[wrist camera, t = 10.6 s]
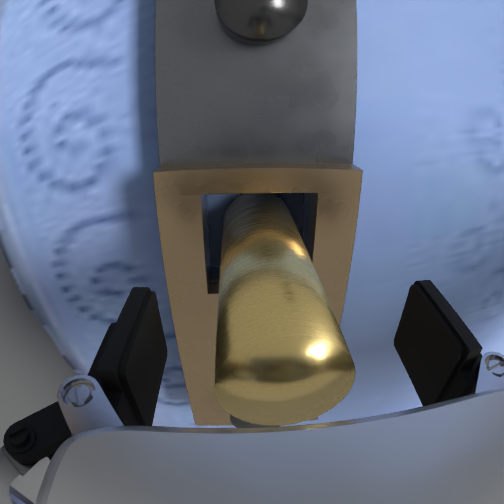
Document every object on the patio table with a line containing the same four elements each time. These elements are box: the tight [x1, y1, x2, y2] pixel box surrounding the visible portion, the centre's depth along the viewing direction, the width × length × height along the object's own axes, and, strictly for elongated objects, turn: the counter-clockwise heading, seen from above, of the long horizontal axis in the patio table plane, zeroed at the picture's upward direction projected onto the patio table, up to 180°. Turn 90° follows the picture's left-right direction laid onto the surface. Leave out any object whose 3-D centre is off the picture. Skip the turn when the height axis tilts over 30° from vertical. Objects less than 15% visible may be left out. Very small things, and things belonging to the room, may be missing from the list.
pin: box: [214, 193, 355, 426], centre depth 14 cm, size 4×4×12 cm
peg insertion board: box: [153, 0, 363, 428], centre depth 17 cm, size 10×32×5 cm, turn 0°
